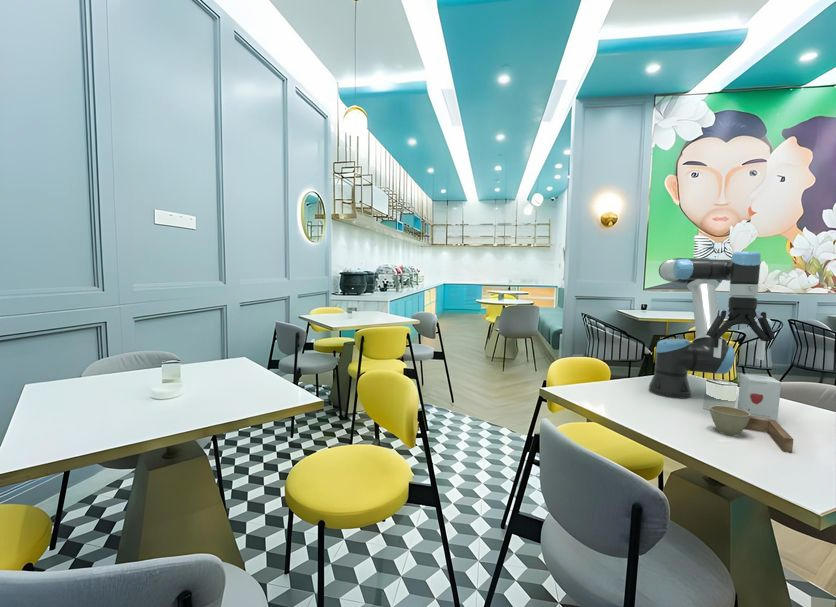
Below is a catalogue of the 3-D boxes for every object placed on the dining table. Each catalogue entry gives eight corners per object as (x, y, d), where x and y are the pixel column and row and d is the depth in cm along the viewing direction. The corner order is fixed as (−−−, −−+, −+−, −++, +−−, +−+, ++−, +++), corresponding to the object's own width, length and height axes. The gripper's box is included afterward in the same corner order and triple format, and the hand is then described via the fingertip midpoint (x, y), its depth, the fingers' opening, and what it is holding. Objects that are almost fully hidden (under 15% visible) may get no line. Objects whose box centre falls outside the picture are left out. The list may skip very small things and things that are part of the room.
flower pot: (711, 424, 131) (713, 403, 130) (750, 433, 124) (752, 411, 123) (705, 431, 124) (707, 409, 123) (746, 441, 117) (748, 418, 116)
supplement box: (744, 420, 135) (747, 378, 134) (736, 413, 143) (739, 373, 142) (778, 425, 131) (782, 382, 130) (768, 417, 139) (771, 376, 138)
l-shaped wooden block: (737, 442, 115) (738, 429, 115) (727, 424, 131) (727, 412, 131) (792, 453, 109) (793, 439, 109) (774, 432, 125) (775, 420, 125)
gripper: (710, 295, 131) (706, 358, 132) (792, 298, 128) (787, 362, 129) (697, 295, 138) (693, 354, 139) (774, 298, 135) (769, 358, 137)
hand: (738, 358), depth 134 cm, fingers open, 13 cm apart
